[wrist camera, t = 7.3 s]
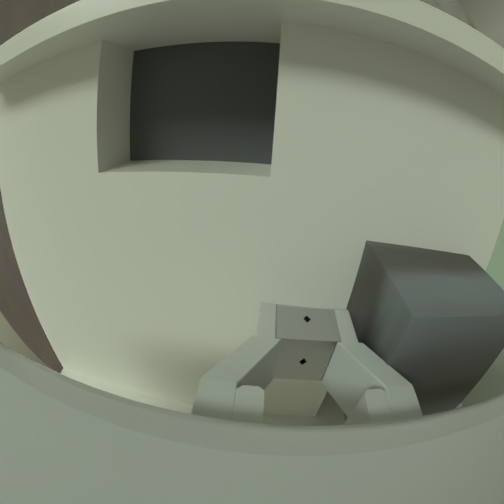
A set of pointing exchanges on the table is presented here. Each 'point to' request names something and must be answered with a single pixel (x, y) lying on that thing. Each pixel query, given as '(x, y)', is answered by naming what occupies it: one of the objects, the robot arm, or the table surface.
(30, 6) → the table surface
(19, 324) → the table surface
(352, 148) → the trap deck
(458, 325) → the block
